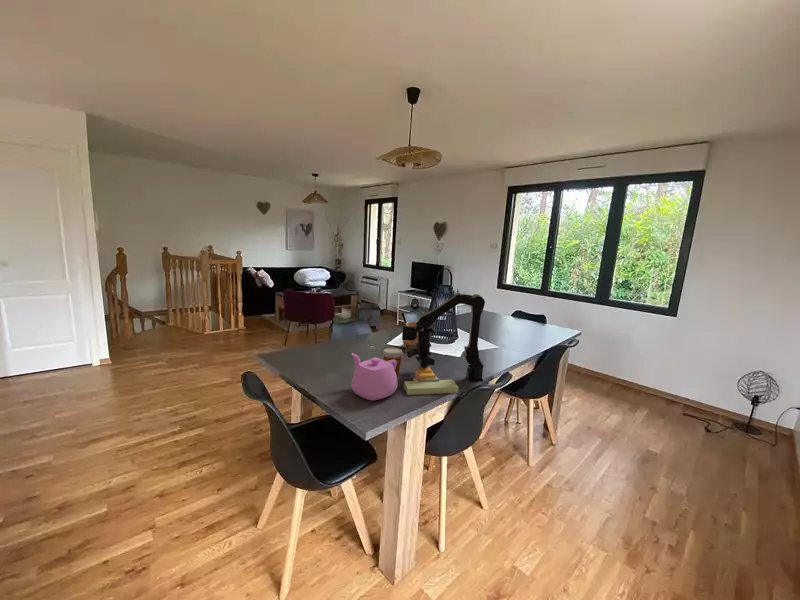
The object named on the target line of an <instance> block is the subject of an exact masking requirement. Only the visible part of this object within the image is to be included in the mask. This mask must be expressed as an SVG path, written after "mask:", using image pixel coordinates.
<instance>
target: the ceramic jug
mask: <svg viewBox="0 0 800 600" xmlns="http://www.w3.org/2000/svg"><path fill="white" fill-rule="evenodd" d="M417 322H418V321H409V322H405V326H415V324H416V323H417ZM417 342H418V332H417V339H415V340H414V341H409V340H402V344H403V345H404V346H405V347H406V348H409V347H411V346H415V345H416V343H417Z"/></svg>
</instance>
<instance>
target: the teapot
mask: <svg viewBox="0 0 800 600" xmlns="http://www.w3.org/2000/svg"><path fill="white" fill-rule="evenodd" d="M351 356H352V357H353V359H354V373H353V376H352V380H351V389H352V392H353V393H354V394H355V395H357V396H358V397H360V398H362V399H364V400H365V399H366V400H368V401H377V400H378V401H379V400H381V399H385V398H388V397H390V396H392V395H393V394H394V393H395V392H396V390H397V388H398V376H396V372H395V368H396V365H397V361H396V360H394V359H392V360H389V361H385V360H384V359H380V358H379V357H372V358H370V359H366V360H364V361H362V362H361V359H360V357H359V356H358V354H357V353H355V352H351Z"/></svg>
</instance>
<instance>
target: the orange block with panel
mask: <svg viewBox="0 0 800 600" xmlns="http://www.w3.org/2000/svg"><path fill="white" fill-rule="evenodd" d="M435 377H436V374H435V373H434V372H433V370H432V369H431V367H429V366H427V367H421V368H420V367H417V368H416V369H415V378H416V379H417V381H419V379H435Z"/></svg>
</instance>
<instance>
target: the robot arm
mask: <svg viewBox="0 0 800 600" xmlns="http://www.w3.org/2000/svg"><path fill="white" fill-rule="evenodd" d="M459 304H463V305H468V306H470V312H471V313H470V315H471V317H470V325H469V327H470V328H469V334H468V335H469V337H468V344H467V346H466V345H464V346H463V348H464V352H463V353H462V354H463V357H464V358H465V360H466V363H468V365H467V368H466V373H465V377H466V378H467V379H468V380H469V381H470V382H484V379H483V372H484V367H485V366H484V365H485V364H483V362H482V360H481V358H480V355H479V352H480V351H479V347H478V346H479V335H480V326H481V325H480V324H481V323H480V322H481V317H482V314H483V311H484V307H485V305H486V301H485V298H483V296H481V295H480V294H478V293H477V294H475V293H474V294H473V295H472V294H464V293H459V292H458V293H455V294H454V295H453V296H452V297H450V298H449V299H447V300H446V301H444V302H443V303H441V304H440V305H437V307H435V308H434V309H432V310H429V311H426V312H424V313H421V315H420V316H419V317H418V321H416V322H417V323H416V324H415V326H406V324H405V325H403V326H402V336H401V341H403V340H409V341H414V340H415V339H417V332H418V342H417V343H416V345H415V346H411V347H409V348H408V347H406V348H405V349H404V350H405V353H406V357H407V358H409V359H410V358H412V357H414V356H415V358H416V360H417V362H418V363H419V368H421V367H429V366H434V365H435V363H436V362H435V361H436V359H434V357H432V356H431V355H432V352H431V347H432V344H431V334H432V333H433V334H434V333H435V332H436V331H435V329H434V328H433V326H432V325H433V324H434V323H435V322H436V321H437V320H438V319H439V317H441V316H443V315H444V314H446V313H447V312H449V311H450V310H452V309H454V307H455V308H456V306H457V305H459Z"/></svg>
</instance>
